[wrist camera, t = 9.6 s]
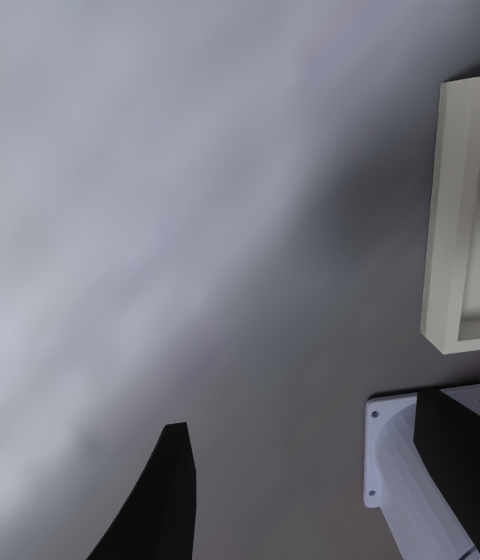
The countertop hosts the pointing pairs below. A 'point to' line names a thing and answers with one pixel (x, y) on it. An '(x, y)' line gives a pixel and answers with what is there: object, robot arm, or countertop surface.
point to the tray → (454, 224)
